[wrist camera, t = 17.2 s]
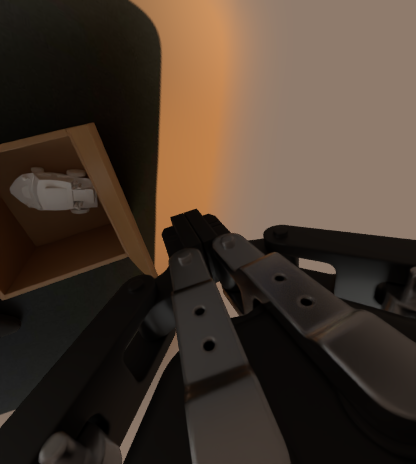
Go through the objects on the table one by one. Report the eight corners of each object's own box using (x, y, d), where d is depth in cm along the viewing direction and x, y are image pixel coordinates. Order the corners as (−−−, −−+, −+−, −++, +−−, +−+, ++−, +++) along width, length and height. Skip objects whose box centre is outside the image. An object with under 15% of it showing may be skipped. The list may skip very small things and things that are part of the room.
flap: (86, 124, 12) (93, 122, 12) (68, 128, 16) (74, 127, 16) (157, 287, 18) (162, 285, 18) (130, 259, 22) (134, 257, 22)
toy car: (99, 208, 29) (96, 221, 25) (22, 207, 26) (6, 222, 22) (97, 170, 27) (93, 178, 23) (13, 164, 24) (-6, 172, 20)
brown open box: (-34, 152, 23) (-120, 172, 15) (89, 123, 25) (72, 126, 17) (36, 249, 29) (1, 301, 21) (130, 219, 31) (132, 255, 23)
